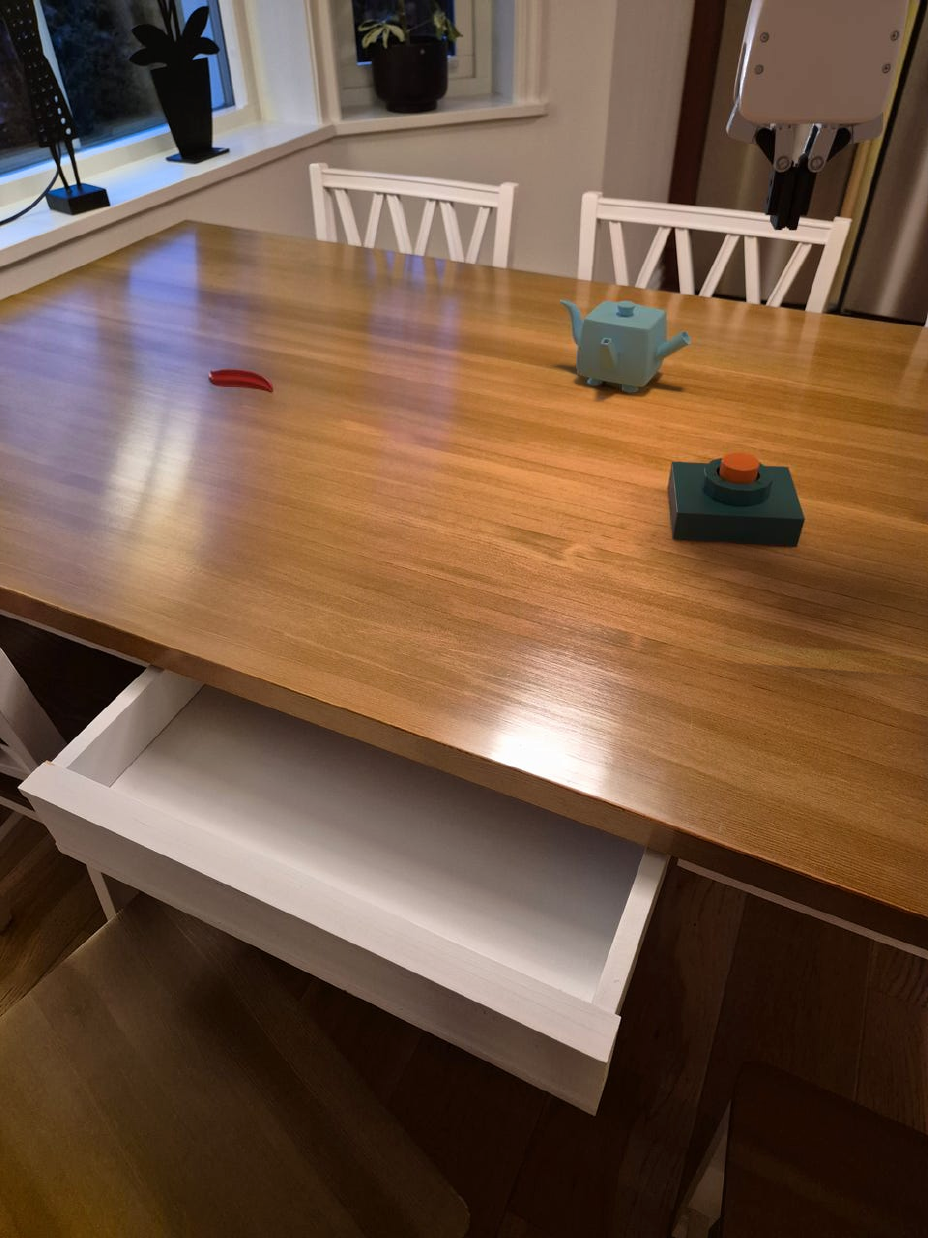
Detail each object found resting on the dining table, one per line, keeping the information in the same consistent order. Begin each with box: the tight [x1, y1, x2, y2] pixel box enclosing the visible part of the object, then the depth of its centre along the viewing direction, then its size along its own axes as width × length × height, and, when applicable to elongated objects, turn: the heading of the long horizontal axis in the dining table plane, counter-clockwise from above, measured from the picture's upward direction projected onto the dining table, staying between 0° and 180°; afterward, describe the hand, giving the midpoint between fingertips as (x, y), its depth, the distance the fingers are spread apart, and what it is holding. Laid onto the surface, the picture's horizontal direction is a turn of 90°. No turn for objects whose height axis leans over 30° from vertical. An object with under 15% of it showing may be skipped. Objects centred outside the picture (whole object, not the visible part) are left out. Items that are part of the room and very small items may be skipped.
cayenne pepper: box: [208, 368, 274, 393], centre depth 113 cm, size 12×5×2 cm, turn 50°
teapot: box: [559, 299, 692, 393], centre depth 108 cm, size 18×14×10 cm
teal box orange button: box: [667, 457, 806, 547], centre depth 84 cm, size 12×10×5 cm
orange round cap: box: [719, 452, 761, 484], centre depth 82 cm, size 4×4×2 cm
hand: (782, 224), depth 64 cm, fingers closed
